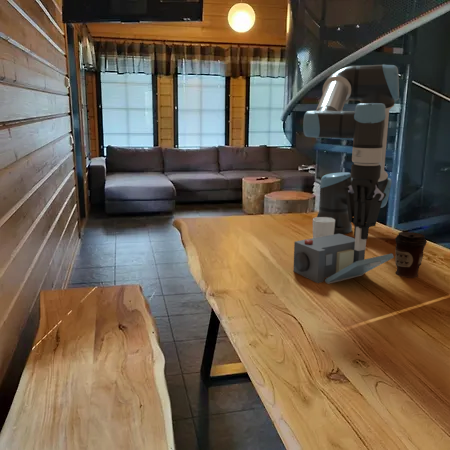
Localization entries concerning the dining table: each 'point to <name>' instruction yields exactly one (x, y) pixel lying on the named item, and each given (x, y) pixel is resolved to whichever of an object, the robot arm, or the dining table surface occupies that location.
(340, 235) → the grey notched block
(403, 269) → the coffee cup
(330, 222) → the white cup
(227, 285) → the dining table surface
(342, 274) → the side door
